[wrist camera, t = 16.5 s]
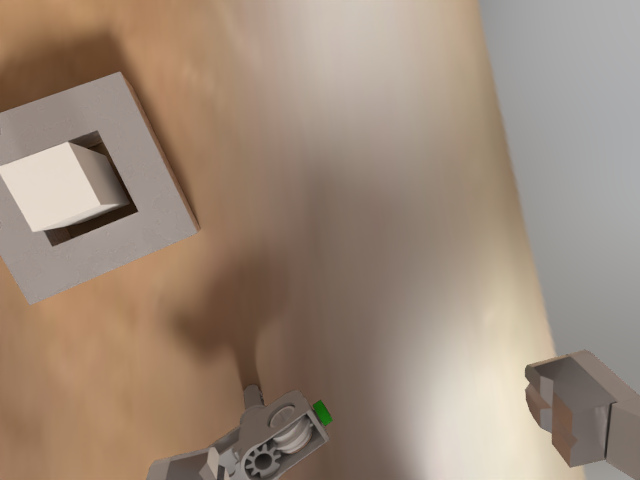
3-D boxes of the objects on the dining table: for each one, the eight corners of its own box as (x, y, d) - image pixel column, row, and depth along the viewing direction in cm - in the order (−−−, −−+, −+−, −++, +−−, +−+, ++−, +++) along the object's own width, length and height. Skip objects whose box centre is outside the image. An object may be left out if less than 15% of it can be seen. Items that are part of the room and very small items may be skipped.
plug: (130, 203, 32) (100, 204, 24) (79, 223, 31) (32, 232, 24) (105, 155, 31) (67, 141, 24) (53, 175, 31) (-4, 167, 23)
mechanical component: (192, 414, 35) (180, 497, 25) (293, 346, 36) (319, 400, 27) (211, 439, 35) (207, 530, 26) (310, 372, 37) (341, 434, 27)
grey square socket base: (200, 229, 33) (197, 233, 30) (53, 292, 31) (29, 305, 27) (132, 87, 31) (120, 71, 27) (-30, 144, 29) (-69, 136, 25)
